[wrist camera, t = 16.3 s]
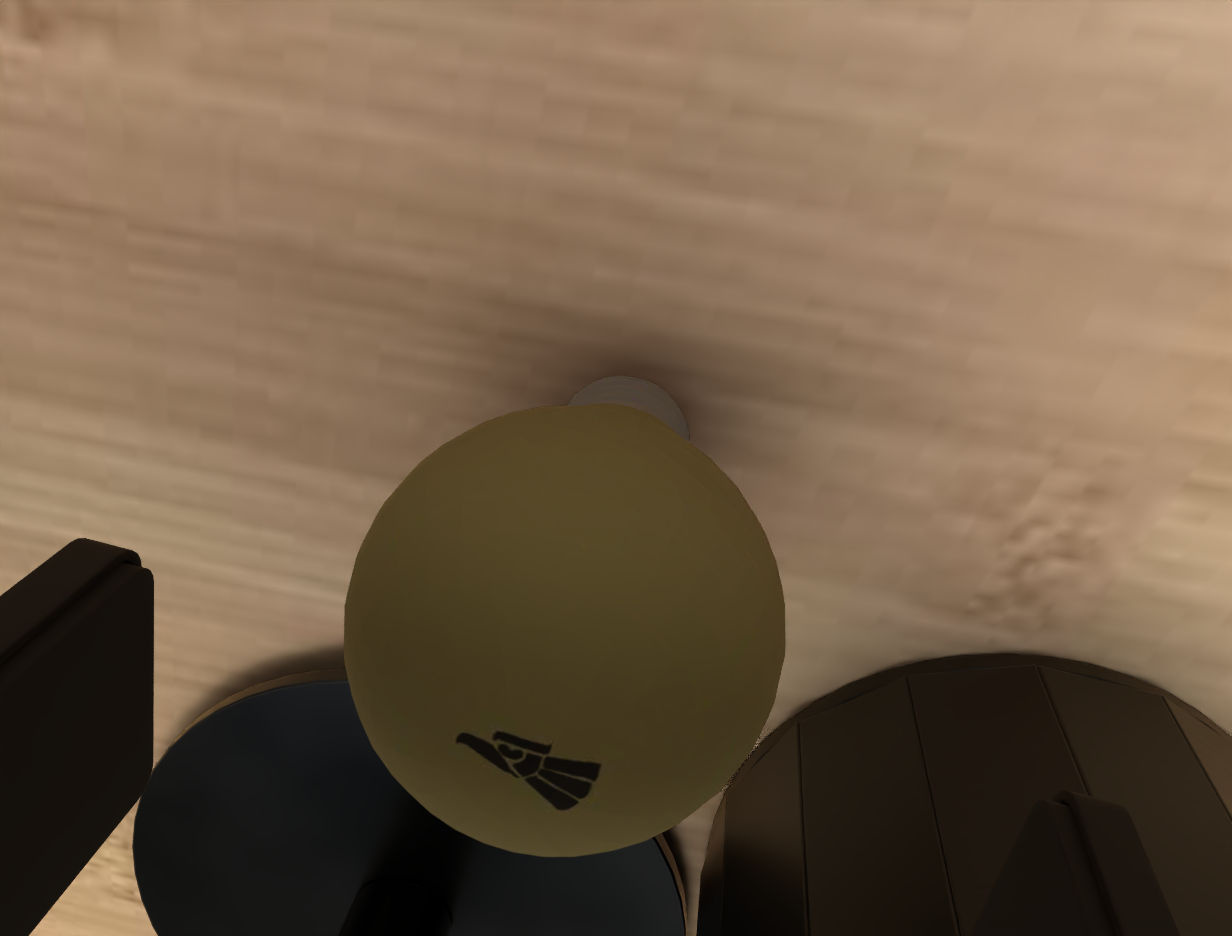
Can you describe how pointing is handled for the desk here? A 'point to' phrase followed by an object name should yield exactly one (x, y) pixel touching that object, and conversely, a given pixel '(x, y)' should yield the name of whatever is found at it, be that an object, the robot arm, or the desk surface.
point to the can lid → (353, 840)
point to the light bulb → (566, 626)
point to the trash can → (960, 798)
